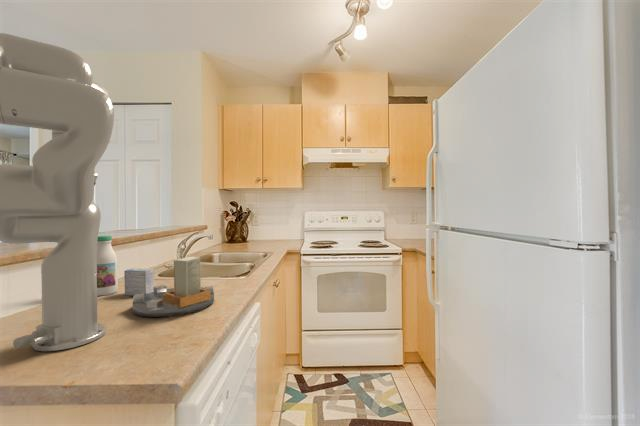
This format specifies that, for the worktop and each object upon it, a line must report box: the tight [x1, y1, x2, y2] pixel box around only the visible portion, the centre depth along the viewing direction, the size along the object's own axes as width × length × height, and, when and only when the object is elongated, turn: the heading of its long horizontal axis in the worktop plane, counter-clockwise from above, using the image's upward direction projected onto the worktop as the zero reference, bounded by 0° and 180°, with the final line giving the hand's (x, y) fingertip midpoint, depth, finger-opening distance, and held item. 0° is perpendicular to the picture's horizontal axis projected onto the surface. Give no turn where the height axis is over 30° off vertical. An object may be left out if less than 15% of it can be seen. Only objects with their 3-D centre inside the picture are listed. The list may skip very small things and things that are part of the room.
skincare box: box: [173, 256, 201, 297], centre depth 86 cm, size 6×4×12 cm
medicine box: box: [123, 267, 155, 296], centre depth 103 cm, size 8×4×9 cm, turn 84°
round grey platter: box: [132, 284, 215, 318], centre depth 90 cm, size 22×22×5 cm
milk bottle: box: [97, 235, 119, 297], centre depth 104 cm, size 8×8×20 cm
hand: (71, 205), depth 82 cm, fingers open, 9 cm apart
